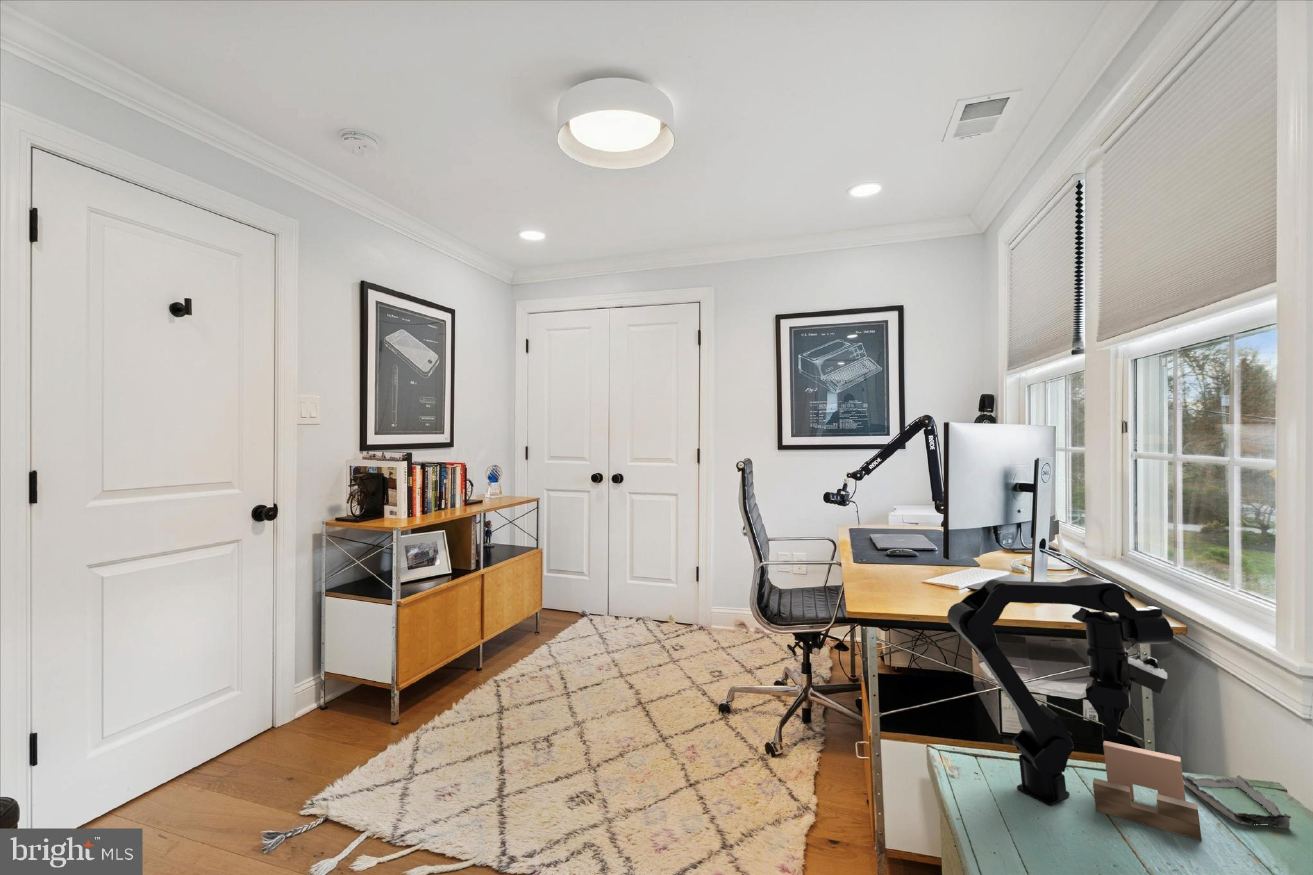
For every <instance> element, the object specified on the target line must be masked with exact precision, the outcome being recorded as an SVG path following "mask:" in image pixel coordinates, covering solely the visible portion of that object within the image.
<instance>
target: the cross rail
mask: <svg viewBox="0 0 1313 875" xmlns="http://www.w3.org/2000/svg"><path fill="white" fill-rule="evenodd" d="M1092 787H1093V788H1092V789H1093V795H1094V803H1095V804H1094V806H1095V812H1099V813H1103V814H1106V815H1109V816H1114V817H1117V818H1120V819H1123V820H1127V821H1132V822H1134V823H1138V824H1143V825H1145V826H1148V827H1152V828H1155V829H1156V828H1157V829H1160V830H1161V831H1162V830H1163V831H1167V832H1170V833H1174V834H1177V835H1180V836H1184V837H1187V838H1191V839H1194V840H1197V841H1201V842H1202V839H1203V838H1202V831H1201V822H1200V816H1199V807H1198V806H1199V805H1198V803H1196V802H1191V801H1187V800H1186V801H1183V800H1179V799H1176V798H1172V797H1168V796H1164V795H1160V794H1158V793H1156V795H1155V796H1156V805H1157V807H1155V806H1151V805H1148V804H1143V803H1140V802H1137V801H1133V800H1132V799H1131V792H1130V787H1128V786H1124V785H1120V784H1116V783H1112V782H1108V781H1107V780H1104V779H1101V778H1096V777H1093V780H1092Z"/></svg>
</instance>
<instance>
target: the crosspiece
mask: <svg viewBox="0 0 1313 875" xmlns="http://www.w3.org/2000/svg"><path fill="white" fill-rule="evenodd" d="M1102 745H1103V754H1104V761H1105V763H1104V764H1105V772H1106V781H1108V782H1112V783H1116V784H1120V785H1124V786H1128V787H1130V792H1131V800H1135V790H1134V789H1135V788H1134V785H1135V786H1138V787H1139V786H1140V787H1143V788H1145V789H1146V788H1147V789H1151V790H1154V791H1157V794H1160V795H1164V796H1168V797H1172V798H1176V799H1179V800H1183V801H1187V800H1186V792H1185V785H1184V784H1185V783H1184V781H1183V775H1184V774H1183V767H1182V759H1181V757H1180V756H1176V755H1172V754H1167V753H1163V752H1158V751H1153V750H1150V749H1145V748H1141V747H1140V748H1138V747H1134V746H1130V745H1126V744H1120V743H1117V742H1112V741H1106V740H1104V741H1103V744H1102Z"/></svg>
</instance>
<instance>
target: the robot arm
mask: <svg viewBox="0 0 1313 875" xmlns="http://www.w3.org/2000/svg"><path fill="white" fill-rule="evenodd" d="M1010 603H1018V604H1022V603H1023V604H1046V605H1047V604H1048V605H1049V604H1051V605H1053V604H1054V605H1072V606H1077V607H1080V608H1079V610H1078V611H1076V612H1075V613H1073V614H1072V615H1071V618H1072V619H1074V620H1076V621H1078V622H1080V623H1083V624H1085V633H1086V641H1087V642H1086V643H1087V649H1086V654H1087V655H1086V656H1087V657H1088V662H1089V670H1088V672H1089V678H1093V679H1091V680H1090V681H1089V682H1087V683H1086V686H1085V696H1086V700H1087V701H1088V703H1089V704H1090V705H1091V706H1092V708H1093V710H1094V711H1095V712H1096V714H1097V716H1098V718H1099V719H1100V720H1101V722H1102V724H1103V725H1104V727H1105V730H1107V733H1108V734H1109V736H1113V737H1117V736H1118V733H1119V726H1120V725H1119V724H1120V718H1121V713H1122V712H1123V711H1125V710H1129V709H1130V708H1131V695H1130V693H1131V692H1130V690H1129V689H1128V688H1129V687H1130V686H1131V685H1132V682H1134V684H1135V683H1136V684H1137V685H1140V686H1142V687H1144V688H1147V689H1149V690H1150V691H1151V692H1154V693H1156V694H1160V695H1161V694H1162V693H1163V692H1164V689H1165V686H1166V684H1167V681H1168V677H1169V676H1168V672H1166V671H1165V669H1164V668H1160V665H1159V662H1158V659H1156V658H1154V657H1151V656H1148V655H1147V656H1146V657H1144V658H1143V659H1139V658H1137V659H1136V658H1134V657H1130V656H1129V650H1127V649H1126V646H1125V639H1126V640H1127V641H1128V642H1129V643H1131V644H1133V645H1152V644H1153V645H1156V644H1157V645H1159V644H1161V645H1162V644H1170V643H1171V642H1172V641H1173V639H1174V629H1173V627H1171V624H1170V622H1169V621H1168V619H1167V618H1166V616H1164V615H1163V611H1162V610H1163V609H1161V608H1160V607H1156V606H1151V605H1150V606H1144V607H1135V606H1134V605H1133V604H1132V602H1130V601H1129V600H1128V599H1127V598H1126V595H1125V592H1124V590H1123V588H1122V587H1121V586H1120V585H1118V584H1117V583H1114V582H1111V581H1107V580H1104V579H1101V578H1098V577H1096V576H1085V577H1084V576H1082V577H1078V578H1071V579H1068V580H1066V581H1060V582H1057V581H1055V582H1054V581H1053V582H1051V581H1022V580H1019V581H1018V580H1017V581H1016V580H1015V581H1014V580H1000V579H996V578H995V579H990V580H988V581H986V582H985V583H984V584H983V585H982V586H981V587H980V588H978V589H976V590H975V591H973V592H971V593H970V594H967V595H966V596H965V597H963V599H962V600H960V602H957V603H954V604H952V605H951V606H950V608H949V609H948V611H947V616H946V618H947V620H948V622H949V625H951V627H952V628H953V629H954V630H955V631H956V632H958V634H959V635H960V636H961V637H962V638H963V640H965V641H966V642H967V643H968V644H969V645H970V646H971V647H972V648H973V649H974V650H975V651H976V653H977V654H978V655H979V657H980V658H981V660H982V662H983V663H984V665H985V666H986V668H987V669H988V671H989V672H990V673H991V675H992V676H993V678H994V679H995V680H996V682H997V684H998V685H999V687H1000V688H1001V689H1002V691H1003V693H1004V694H1005V695H1006V697H1007V699H1008V700H1009V701H1010V703H1011V704H1012V706H1013V707H1014V709H1015V710H1016V712H1017V718H1018V721H1019V724H1020V726H1021V727H1022V728H1021V730H1019V732H1018V733H1017V734H1016V735H1015V736H1014V737H1013V738H1012V740H1011V741H1012V743H1013V745H1014V748H1015V749H1016V750H1017V751H1018V752H1019V753H1020V754H1019V755H1018V761H1019V762H1018V763H1019V769H1020V770H1019V771H1020V779H1021V783H1020V784H1018V785H1016V789H1017V790H1018V791H1020V792H1022V793H1024V794H1026V795H1028V796H1030V797H1032V798H1034V799H1036V800H1038V801H1040V802H1042V803H1044V804H1046V805H1048V806H1053V805H1055V804H1057V803H1059V802H1061V801H1062V800H1065V799H1066V798H1067V797H1069V796H1070V795H1071V794H1070V792H1069V791H1068V790H1067V785H1066V776H1065V774H1063V773H1065V772H1066V768H1067V765H1068V761H1069V757H1070V756H1071V754H1072V752H1073V750H1074V748H1075V745H1074V741H1073V740H1072V738H1071V737H1074V734H1072V733H1071V732H1070V731H1069V730H1068V729H1067V728H1066V726H1065V724H1064V722H1063V720H1062V718H1061V716H1060V715H1058V714H1057V713H1056V712H1054V711H1053V710H1052V709H1051V708H1049V707H1048V706H1047V705H1046V704H1044V703H1041V704H1039V703H1038V701H1037V700H1036V699H1035V698H1034V696H1033V694H1032V693H1031V691H1030V690H1029V688H1028V687H1027V685H1026V684H1025V682H1024V681H1023V680H1022V678H1021V677H1020V675H1019V674H1018V672H1017V671H1016V670H1015V668H1014V667H1013V665H1012V664H1011V662H1010V661H1009V659H1008V657H1007V656H1006V655H1005V653H1004V652H1003V651H1002V649H1001V647H1000V646H999V644H998V639H997V634H996V631H995V629H994V627H993V625H994V624H995V623H997V621H998V620H999V619H1000V618H1001V615H1002V613H1003V612H1004V610H1005V608H1006V607H1007V606H1008V605H1009V604H1010ZM1090 610H1092V611H1090ZM1109 613H1110V614H1111V615H1110V614H1109ZM1113 613H1115V614H1113Z"/></svg>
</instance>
